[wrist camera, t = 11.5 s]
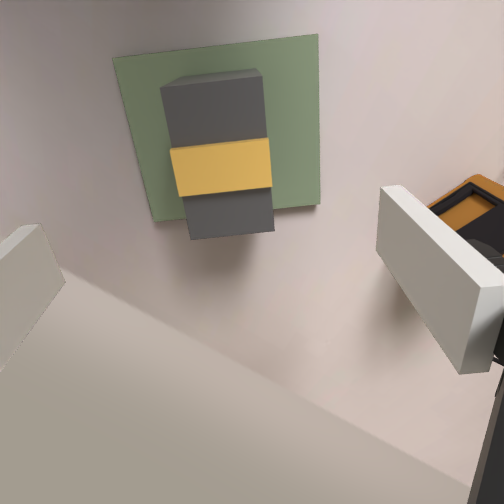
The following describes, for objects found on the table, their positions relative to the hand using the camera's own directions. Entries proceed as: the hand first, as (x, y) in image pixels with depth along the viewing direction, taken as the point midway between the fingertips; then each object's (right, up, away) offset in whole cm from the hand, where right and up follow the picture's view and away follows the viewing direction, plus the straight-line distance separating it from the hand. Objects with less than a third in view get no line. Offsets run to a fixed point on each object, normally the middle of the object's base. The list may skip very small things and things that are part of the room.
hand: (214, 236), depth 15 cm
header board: (-1, +10, +18) cm, 21 cm away
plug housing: (-1, +9, +17) cm, 19 cm away
